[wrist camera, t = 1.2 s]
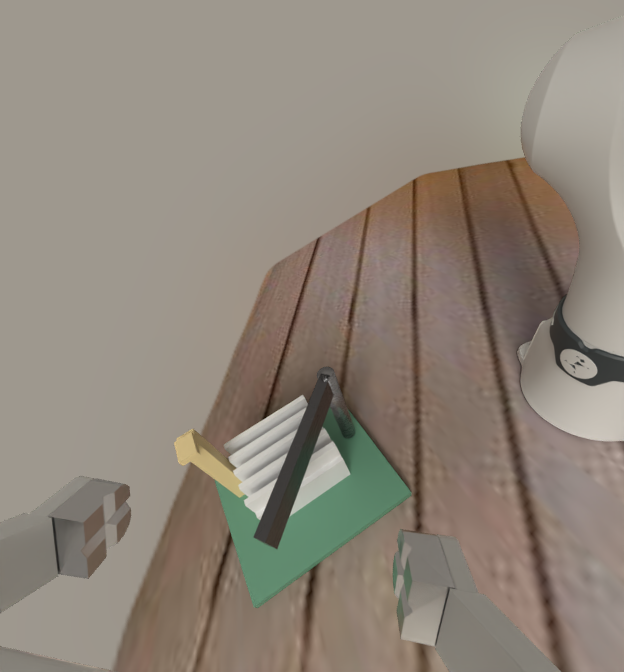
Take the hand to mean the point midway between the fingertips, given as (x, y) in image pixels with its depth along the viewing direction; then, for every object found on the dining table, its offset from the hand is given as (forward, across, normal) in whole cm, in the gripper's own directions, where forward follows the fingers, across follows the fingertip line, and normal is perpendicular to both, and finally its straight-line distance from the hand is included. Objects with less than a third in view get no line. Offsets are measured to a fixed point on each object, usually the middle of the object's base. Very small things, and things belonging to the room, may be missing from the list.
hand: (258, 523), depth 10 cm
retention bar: (+29, -3, +21) cm, 36 cm away
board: (+32, +1, +23) cm, 39 cm away
